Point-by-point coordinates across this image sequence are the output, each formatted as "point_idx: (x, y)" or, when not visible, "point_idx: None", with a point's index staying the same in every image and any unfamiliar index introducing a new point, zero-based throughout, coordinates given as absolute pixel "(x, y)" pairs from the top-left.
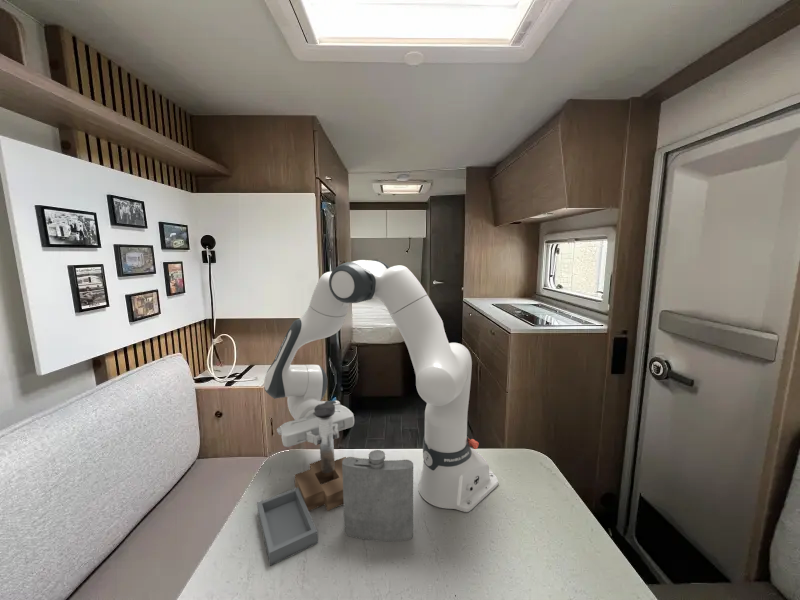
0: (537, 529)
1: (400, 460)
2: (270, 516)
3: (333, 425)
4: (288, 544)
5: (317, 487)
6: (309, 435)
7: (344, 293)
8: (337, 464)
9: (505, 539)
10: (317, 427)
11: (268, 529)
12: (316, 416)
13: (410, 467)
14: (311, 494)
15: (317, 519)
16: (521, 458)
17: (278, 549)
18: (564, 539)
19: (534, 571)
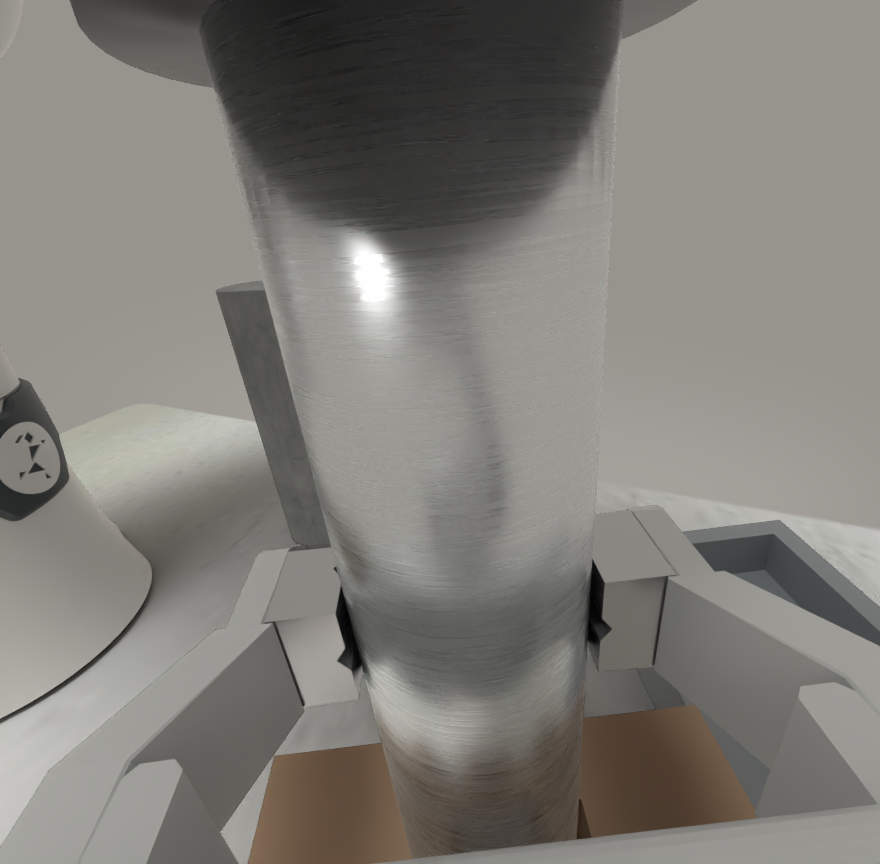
0: (83, 469)
1: (241, 290)
2: None
3: (146, 802)
4: (709, 529)
5: (608, 776)
6: (824, 620)
7: None
8: None
9: (155, 470)
10: (664, 831)
11: (857, 609)
12: (650, 20)
13: (249, 282)
14: (650, 719)
15: (601, 691)
16: None
17: (746, 526)
18: (85, 450)
19: (198, 432)
